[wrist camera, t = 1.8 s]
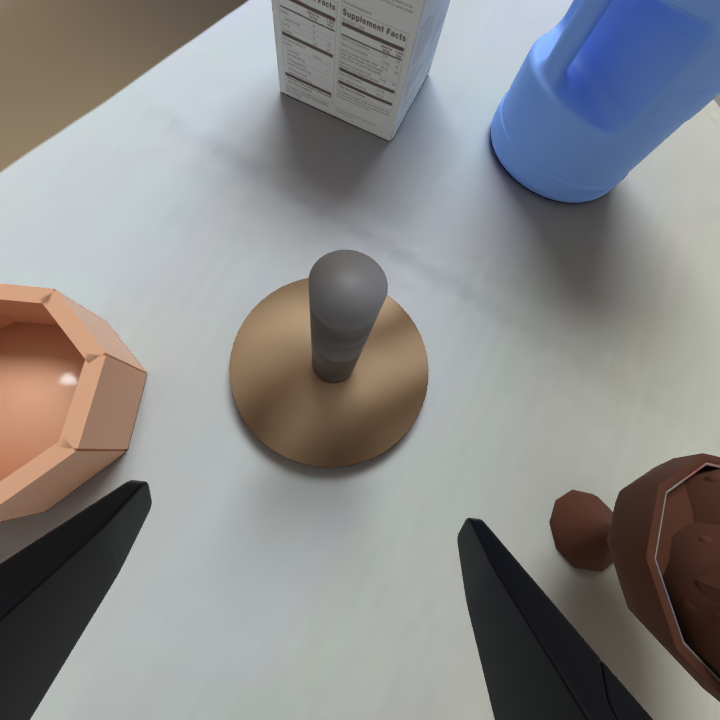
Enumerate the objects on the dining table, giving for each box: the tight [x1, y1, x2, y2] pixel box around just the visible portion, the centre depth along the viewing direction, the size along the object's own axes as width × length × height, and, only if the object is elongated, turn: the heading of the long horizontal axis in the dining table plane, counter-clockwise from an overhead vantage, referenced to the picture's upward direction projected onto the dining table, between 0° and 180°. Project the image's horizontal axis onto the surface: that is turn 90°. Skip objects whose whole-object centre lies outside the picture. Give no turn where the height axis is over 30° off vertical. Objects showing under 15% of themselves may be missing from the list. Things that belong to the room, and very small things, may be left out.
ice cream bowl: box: [550, 453, 720, 702], centre depth 16 cm, size 11×11×15 cm
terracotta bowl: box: [0, 284, 147, 522], centre depth 18 cm, size 13×13×4 cm
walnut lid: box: [229, 250, 428, 467], centre depth 18 cm, size 15×15×13 cm
